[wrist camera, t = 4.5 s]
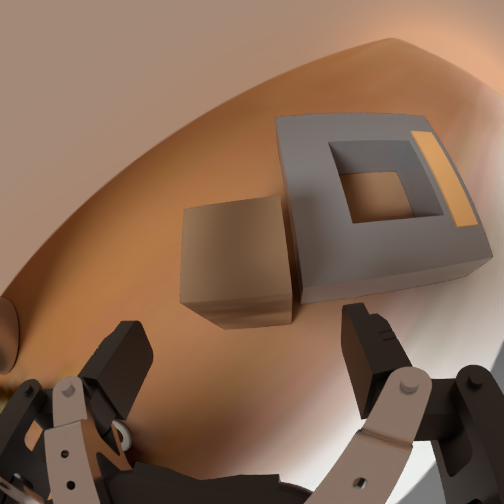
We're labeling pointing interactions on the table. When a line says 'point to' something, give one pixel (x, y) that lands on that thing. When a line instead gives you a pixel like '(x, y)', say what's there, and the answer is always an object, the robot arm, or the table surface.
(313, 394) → the table surface
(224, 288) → the walnut peg
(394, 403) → the robot arm
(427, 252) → the socket block
